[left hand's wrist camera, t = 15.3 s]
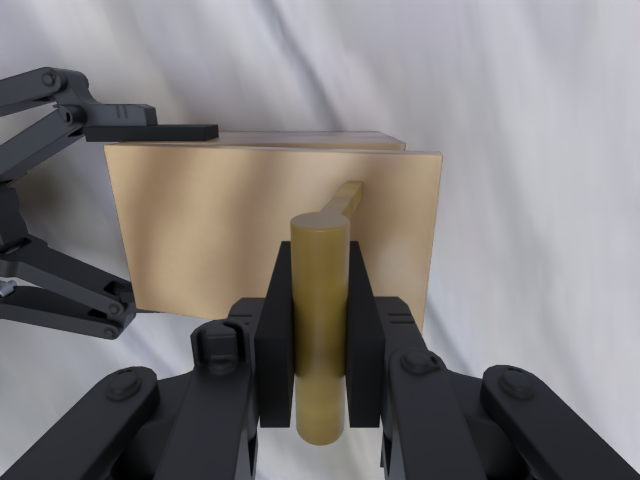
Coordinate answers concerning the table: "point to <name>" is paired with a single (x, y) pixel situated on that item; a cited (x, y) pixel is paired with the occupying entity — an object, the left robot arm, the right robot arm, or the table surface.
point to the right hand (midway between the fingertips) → (220, 215)
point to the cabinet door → (278, 241)
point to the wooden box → (298, 140)
